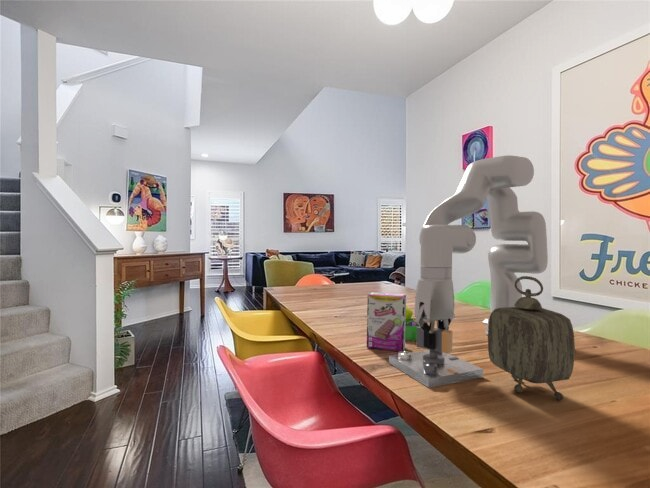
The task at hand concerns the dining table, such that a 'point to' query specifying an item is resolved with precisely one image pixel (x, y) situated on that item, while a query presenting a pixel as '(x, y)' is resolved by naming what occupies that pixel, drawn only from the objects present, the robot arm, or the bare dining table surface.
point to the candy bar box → (386, 321)
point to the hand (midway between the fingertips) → (435, 346)
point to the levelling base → (441, 369)
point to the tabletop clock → (531, 341)
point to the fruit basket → (410, 326)
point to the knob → (436, 345)
